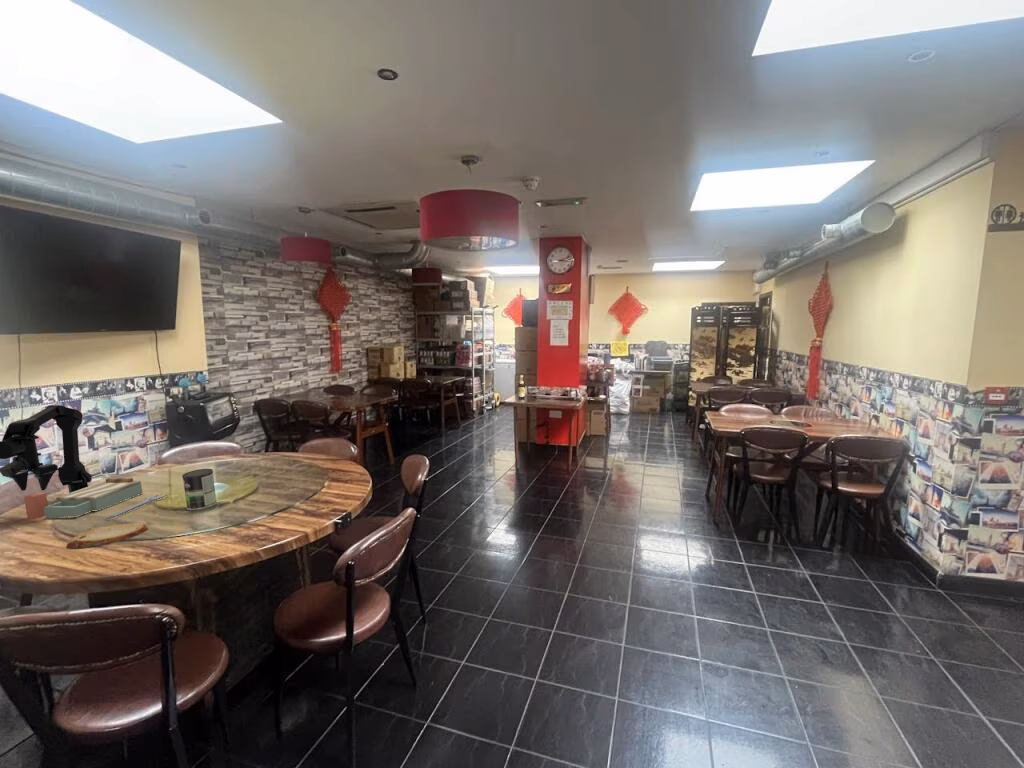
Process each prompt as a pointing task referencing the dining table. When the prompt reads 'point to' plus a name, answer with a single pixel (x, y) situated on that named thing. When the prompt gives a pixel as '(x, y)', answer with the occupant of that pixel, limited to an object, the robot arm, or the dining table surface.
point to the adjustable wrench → (136, 505)
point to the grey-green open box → (89, 503)
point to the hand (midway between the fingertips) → (33, 490)
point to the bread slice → (106, 535)
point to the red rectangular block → (36, 505)
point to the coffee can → (199, 489)
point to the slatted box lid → (100, 489)
